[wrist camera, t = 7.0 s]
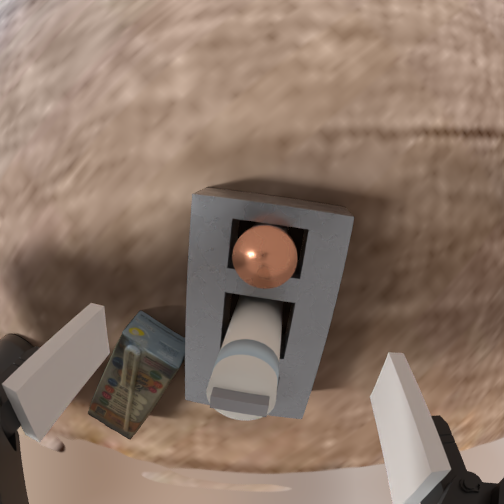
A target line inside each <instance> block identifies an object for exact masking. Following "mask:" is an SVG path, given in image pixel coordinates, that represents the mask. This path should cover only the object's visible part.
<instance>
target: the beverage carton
mask: <svg viewBox="0 0 504 504" xmlns="http://www.w3.org/2000/svg"><path fill="white" fill-rule="evenodd" d="M184 358H185V338H184V337H182V336H180V335H179V334H177V333H175V332H174V331H172V330H170V329H169V328H167V327H166V326H164V325H163V324H161V323H160V322H158V321H157V320H155V319H153V318H152V317H151V316H149V315H148V314H146V313H144V312H143V311H139V312H138V314H137V315H136V316H135V317H134V318H133V319H132V320H131V322H130V323H129V324H128V325H127V326H126V328H125V329H124V331H123V332H122V335H121V337H120V339H119V341H118V342H117V344H116V347H115V349H114V351H113V353H112V355H111V358H110V360H109V362H108V364H107V367H106V369H105V371H104V373H103V375H102V378H101V380H100V382H99V385H98V387H97V389H96V392H95V394H94V397H93V399H92V402H91V405H90V408H89V411H88V414H89V415H90V416H92V417H93V418H95V419H97V420H99V421H100V422H102V423H104V424H105V425H106V426H107V427H109V428H111V429H113V430H115V431H117V432H118V433H120V434H121V435H123V436H125V437H126V438H128V439H131V438H132V437H133V435H134V434H135V433H136V432H137V431H138V429H139V428H140V427H141V425H142V424H143V423H144V421H145V420H146V418H147V417H148V416H149V414H150V413H151V411H152V410H153V408H154V407H155V405H156V404H157V402H158V401H159V399H160V398H161V396H162V394H163V393H164V391H165V389H166V388H167V386H168V385H169V383H170V381H171V379H173V377H174V375H175V374H176V373H177V371H178V369H179V368H180V366H181V364H182V362H183V361H184Z"/></svg>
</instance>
